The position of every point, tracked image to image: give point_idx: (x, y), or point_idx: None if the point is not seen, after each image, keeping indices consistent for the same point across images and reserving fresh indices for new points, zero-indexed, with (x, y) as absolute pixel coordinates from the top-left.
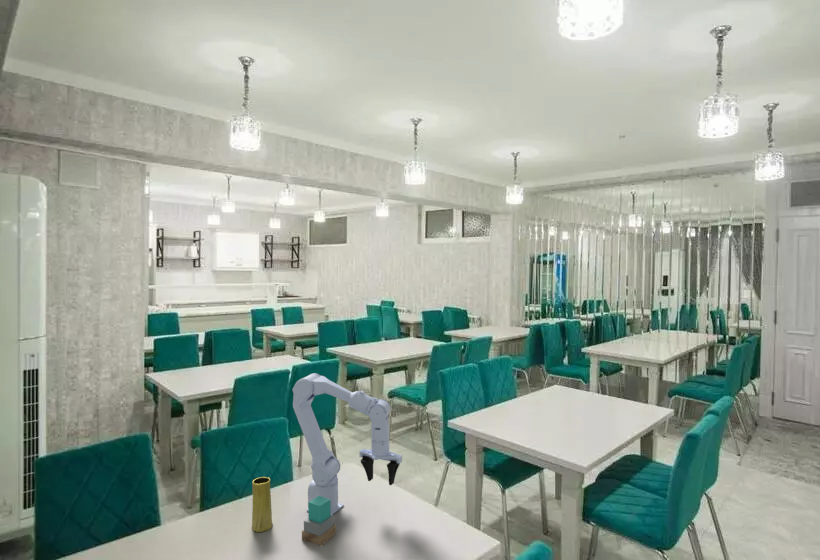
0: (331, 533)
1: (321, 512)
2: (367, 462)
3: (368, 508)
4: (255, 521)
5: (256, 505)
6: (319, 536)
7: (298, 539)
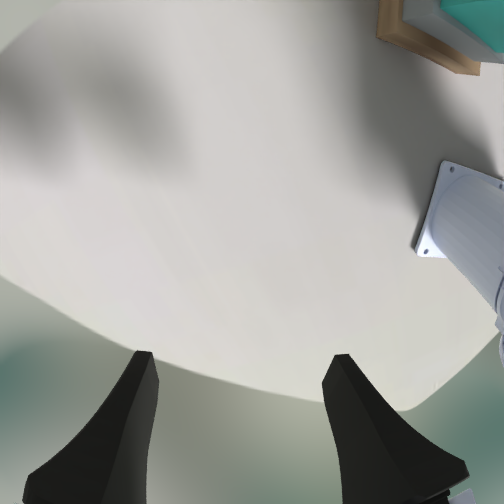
0: (386, 6)
1: None
2: (399, 494)
3: (313, 266)
4: None
5: None
6: None
7: None
